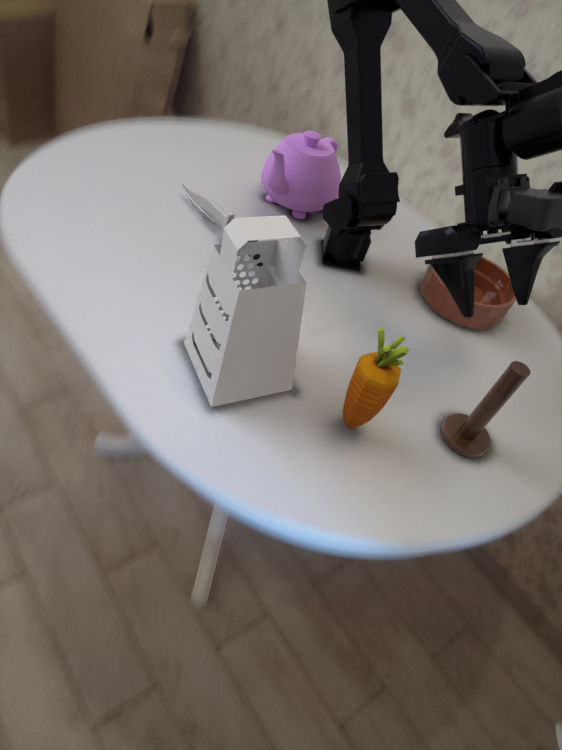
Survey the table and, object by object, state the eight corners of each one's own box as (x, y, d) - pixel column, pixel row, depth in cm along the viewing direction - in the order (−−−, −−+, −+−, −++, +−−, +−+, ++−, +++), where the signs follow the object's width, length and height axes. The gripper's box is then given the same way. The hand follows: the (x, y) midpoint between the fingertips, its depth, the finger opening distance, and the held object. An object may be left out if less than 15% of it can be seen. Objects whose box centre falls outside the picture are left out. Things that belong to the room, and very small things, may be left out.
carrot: (326, 409, 62) (367, 318, 51) (364, 411, 63) (412, 323, 52) (332, 443, 59) (377, 354, 48) (372, 445, 60) (425, 359, 49)
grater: (183, 343, 65) (198, 199, 50) (259, 331, 69) (293, 195, 54) (211, 407, 59) (236, 266, 44) (291, 389, 63) (339, 256, 49)
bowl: (426, 323, 78) (440, 298, 74) (412, 267, 87) (424, 242, 84) (511, 338, 80) (529, 314, 76) (488, 281, 89) (503, 258, 86)
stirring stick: (446, 454, 62) (502, 385, 52) (436, 414, 66) (487, 344, 56) (492, 461, 62) (556, 394, 53) (480, 421, 66) (537, 352, 57)
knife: (175, 193, 87) (177, 165, 83) (184, 192, 88) (187, 164, 84) (259, 281, 76) (265, 253, 72) (268, 278, 77) (275, 251, 73)
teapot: (290, 241, 85) (308, 169, 76) (227, 200, 89) (237, 128, 80) (353, 205, 97) (375, 140, 88) (295, 171, 101) (311, 106, 92)
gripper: (491, 153, 46) (500, 326, 49) (614, 149, 54) (615, 298, 57) (405, 180, 55) (417, 323, 58) (521, 173, 64) (526, 299, 67)
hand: (496, 311), depth 60 cm, fingers open, 9 cm apart
